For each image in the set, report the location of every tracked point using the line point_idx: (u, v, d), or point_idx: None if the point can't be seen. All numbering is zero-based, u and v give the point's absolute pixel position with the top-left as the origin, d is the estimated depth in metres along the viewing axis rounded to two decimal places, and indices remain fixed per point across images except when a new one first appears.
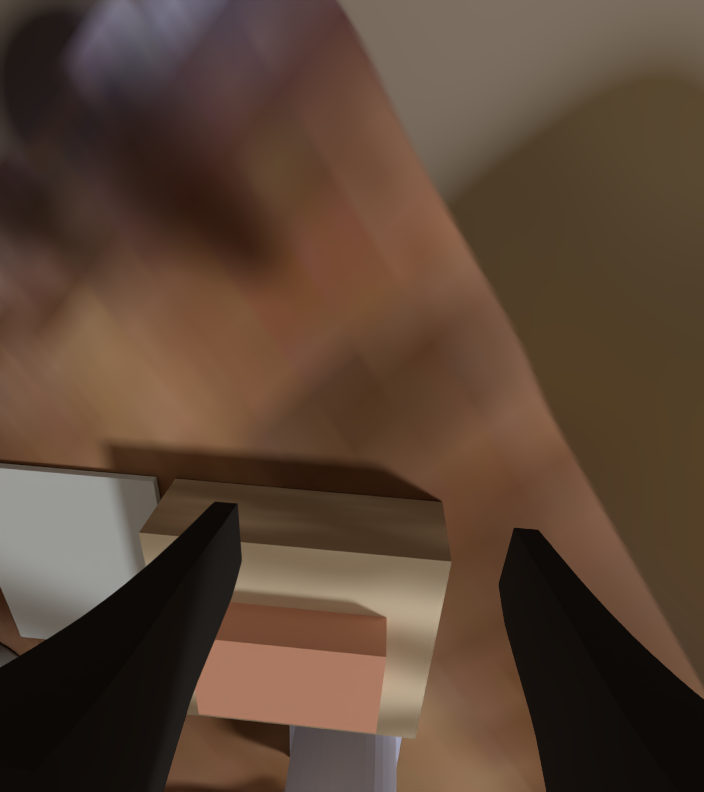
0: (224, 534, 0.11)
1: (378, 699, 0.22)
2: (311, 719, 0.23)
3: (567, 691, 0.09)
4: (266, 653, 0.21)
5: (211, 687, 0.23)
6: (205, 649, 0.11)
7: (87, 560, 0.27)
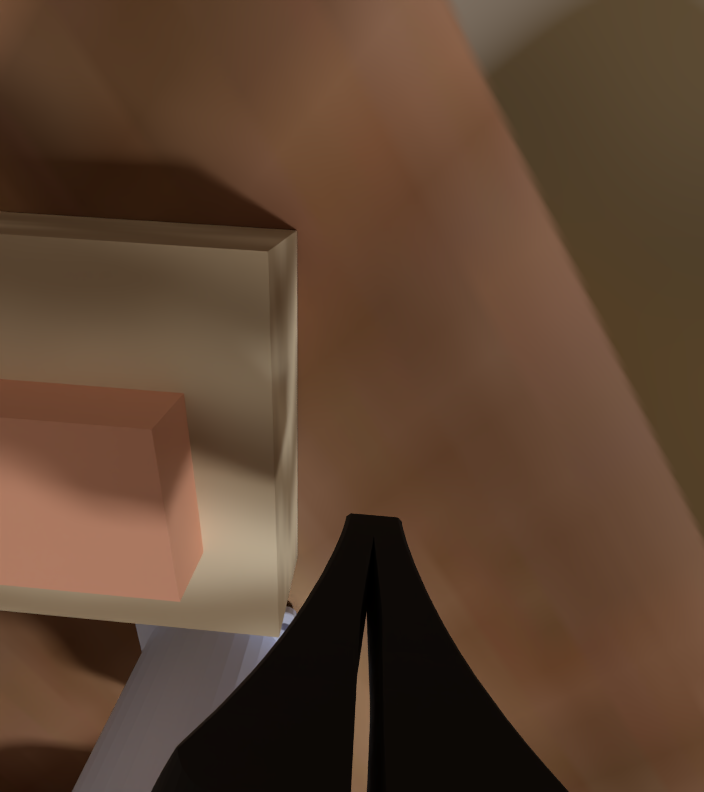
0: (372, 548, 0.11)
1: (164, 529, 0.13)
2: (69, 578, 0.14)
3: (377, 672, 0.09)
4: None
5: None
6: (358, 665, 0.10)
7: None
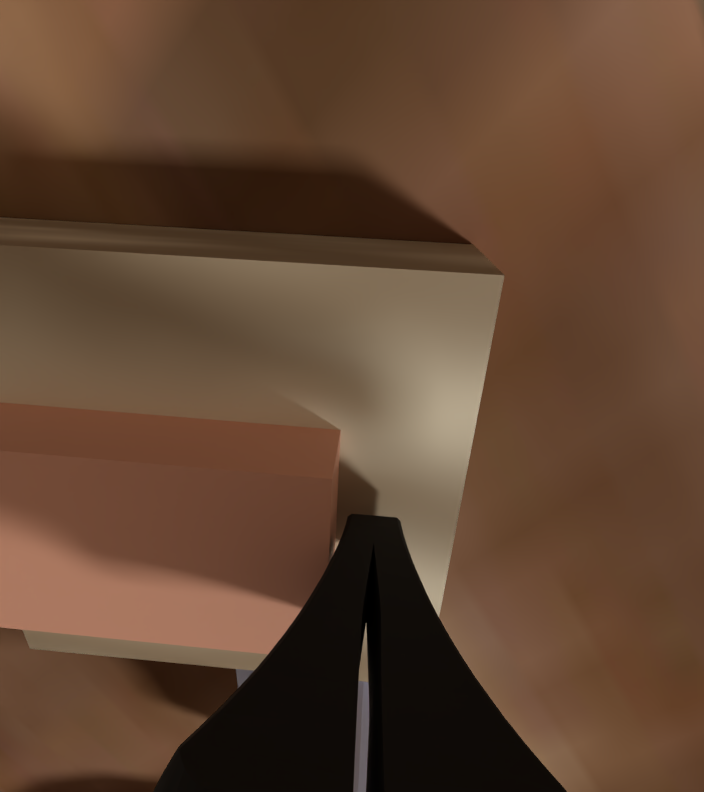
0: (373, 547, 0.11)
1: None
2: (203, 634, 0.12)
3: (376, 671, 0.09)
4: (89, 480, 0.10)
5: (5, 568, 0.12)
6: (359, 665, 0.10)
7: None
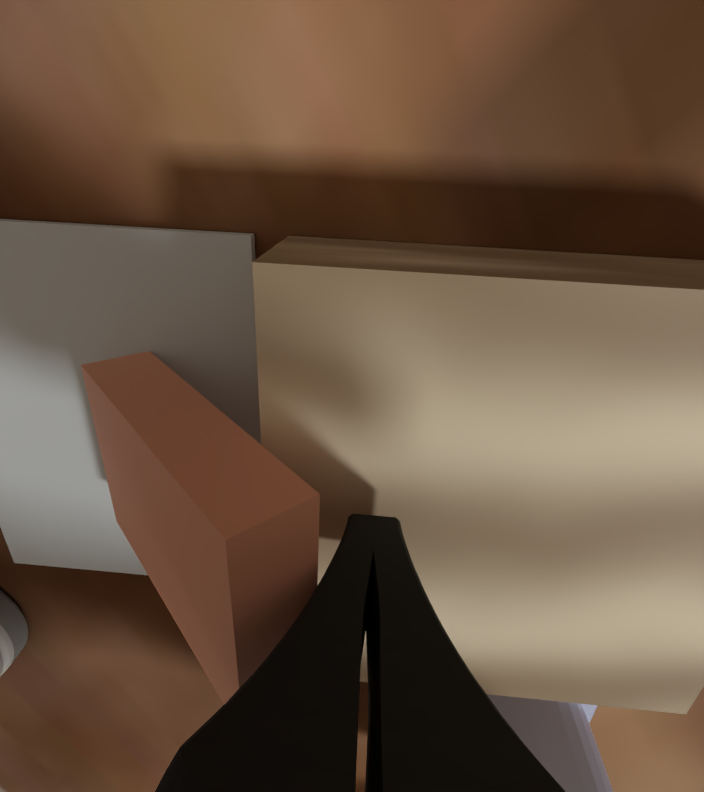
0: None
1: (234, 655, 0.09)
2: (181, 623, 0.12)
3: (375, 671, 0.09)
4: (125, 435, 0.12)
5: (111, 478, 0.15)
6: None
7: None
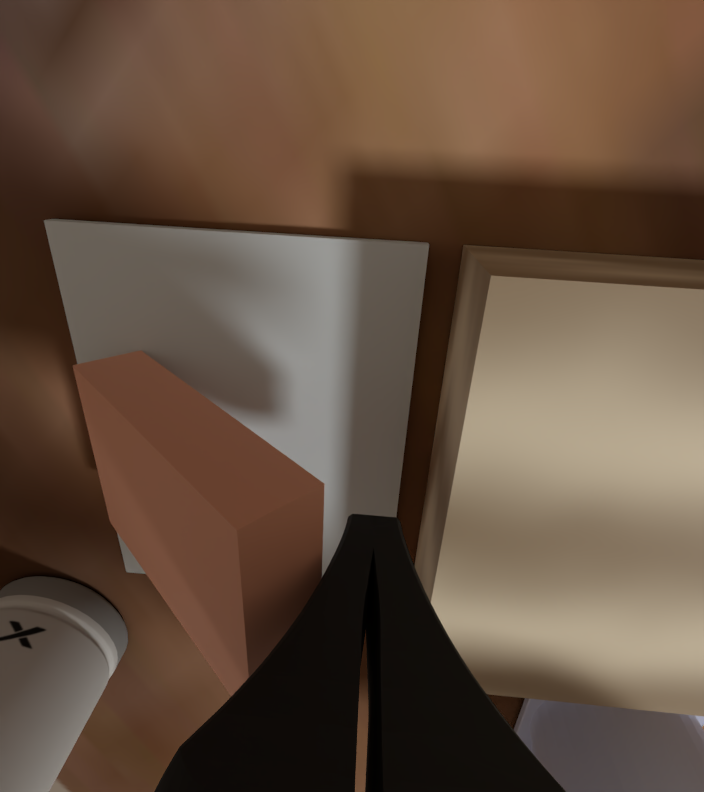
0: None
1: (243, 644, 0.10)
2: (184, 618, 0.13)
3: (375, 672, 0.09)
4: (123, 433, 0.12)
5: (106, 479, 0.15)
6: None
7: (263, 425, 0.16)
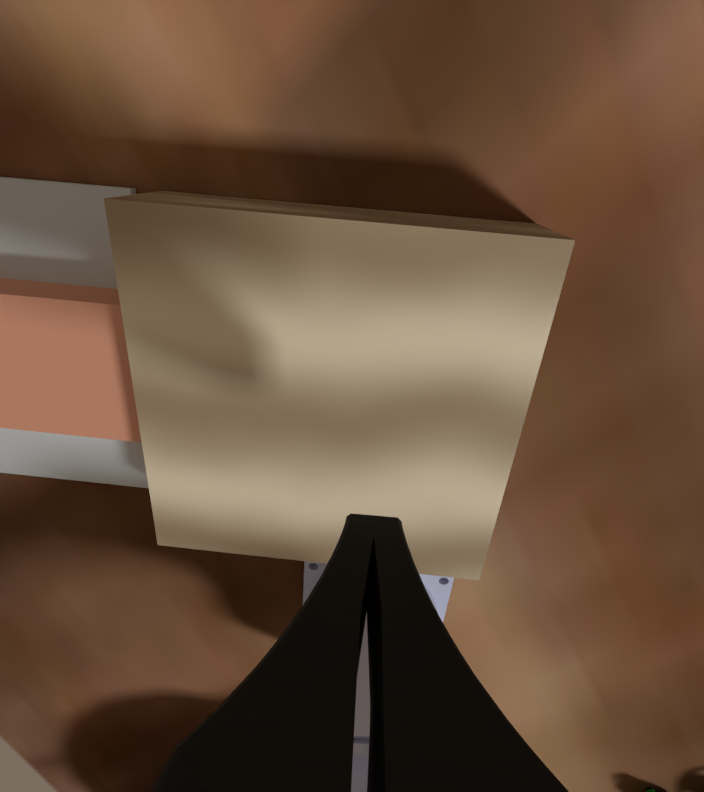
0: (372, 547, 0.11)
1: None
2: (68, 424, 0.20)
3: (377, 672, 0.09)
4: None
5: None
6: (358, 664, 0.10)
7: None
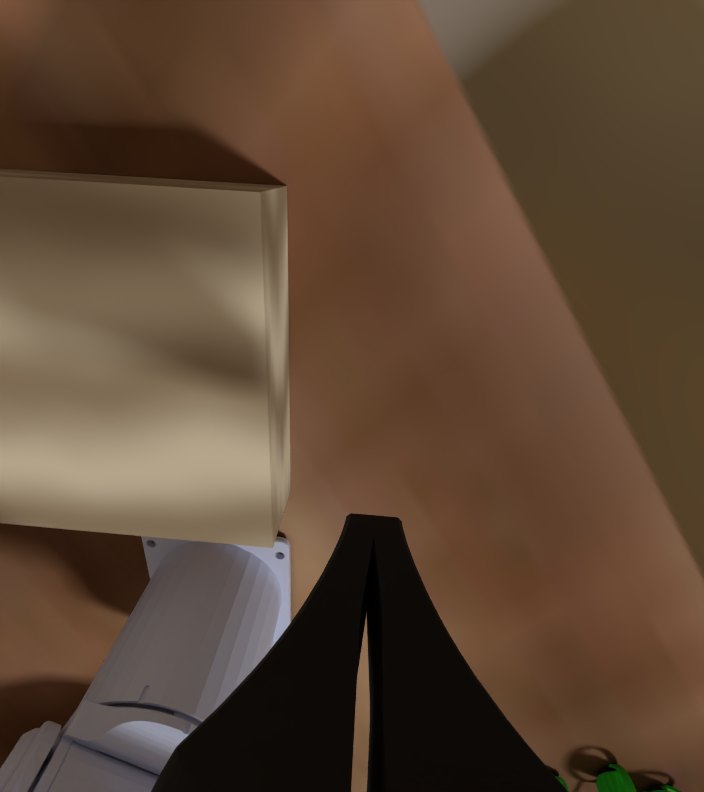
0: (372, 547, 0.11)
1: None
2: None
3: (377, 672, 0.09)
4: None
5: None
6: (358, 664, 0.10)
7: None
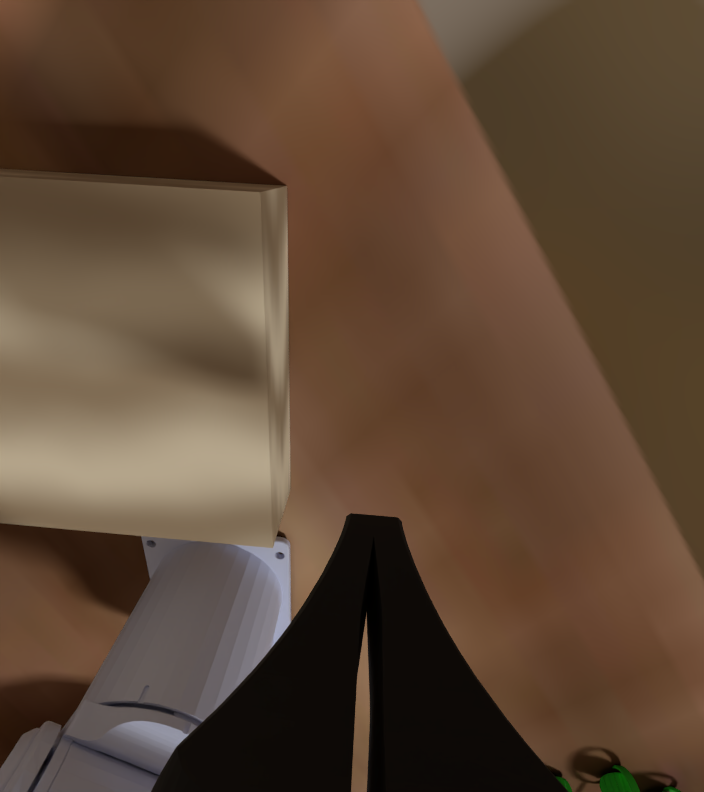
0: (372, 547, 0.11)
1: None
2: None
3: (377, 672, 0.09)
4: None
5: None
6: (358, 664, 0.10)
7: None
